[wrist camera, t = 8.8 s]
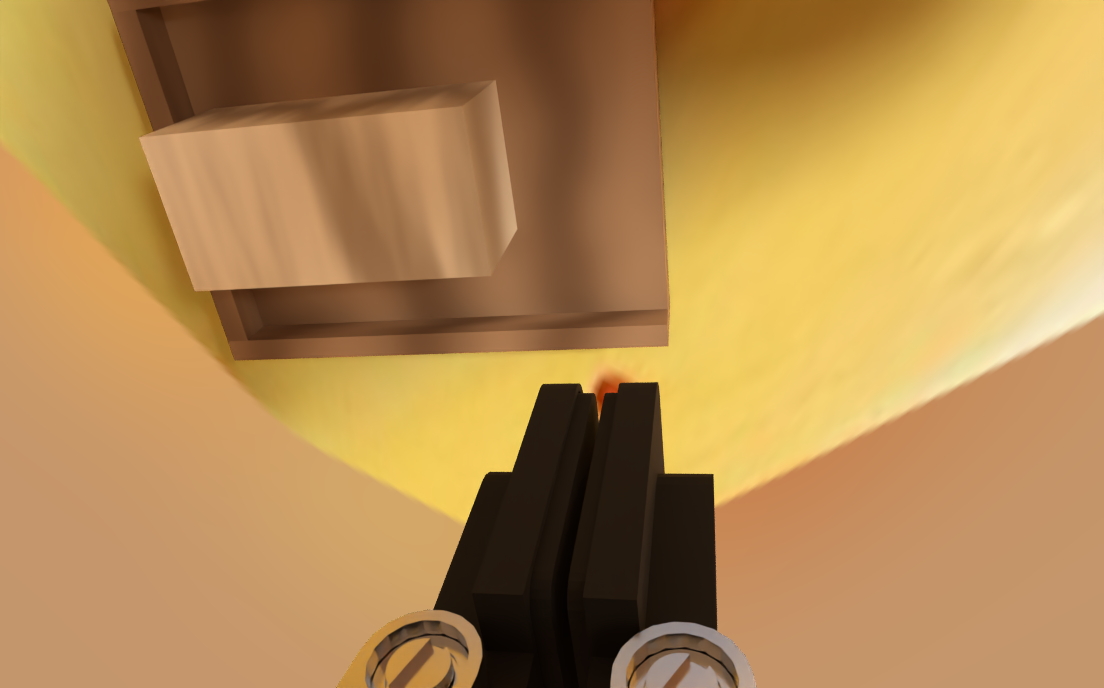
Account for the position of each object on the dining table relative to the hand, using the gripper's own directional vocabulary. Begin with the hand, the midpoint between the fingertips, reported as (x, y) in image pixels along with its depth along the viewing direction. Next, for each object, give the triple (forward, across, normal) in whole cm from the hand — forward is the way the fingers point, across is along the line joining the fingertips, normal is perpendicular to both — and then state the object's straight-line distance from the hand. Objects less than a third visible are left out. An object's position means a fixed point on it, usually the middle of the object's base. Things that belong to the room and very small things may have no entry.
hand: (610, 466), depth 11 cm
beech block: (+18, +6, +1) cm, 19 cm away
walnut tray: (+23, +10, +1) cm, 25 cm away
